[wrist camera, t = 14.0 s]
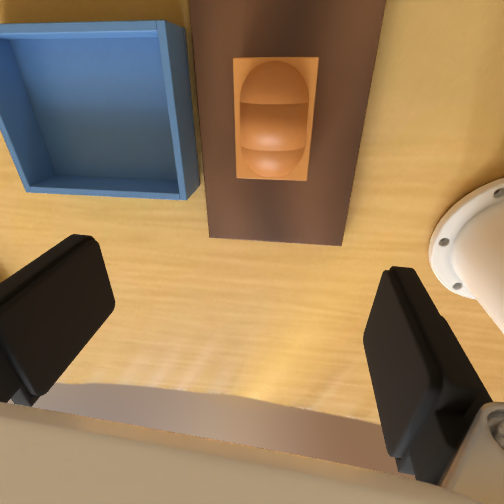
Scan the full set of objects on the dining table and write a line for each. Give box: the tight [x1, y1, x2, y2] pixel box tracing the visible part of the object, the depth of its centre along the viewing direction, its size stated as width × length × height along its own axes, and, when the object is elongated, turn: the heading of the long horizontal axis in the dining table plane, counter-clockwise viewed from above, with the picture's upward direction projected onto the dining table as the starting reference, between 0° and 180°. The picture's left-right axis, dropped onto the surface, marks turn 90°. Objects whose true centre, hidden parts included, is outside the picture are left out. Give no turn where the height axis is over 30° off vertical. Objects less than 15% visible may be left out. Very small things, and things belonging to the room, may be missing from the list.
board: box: [189, 0, 386, 246], centre depth 24 cm, size 13×22×2 cm, turn 0°
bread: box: [233, 57, 319, 181], centre depth 21 cm, size 5×8×5 cm
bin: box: [0, 20, 200, 200], centre depth 24 cm, size 15×12×4 cm
